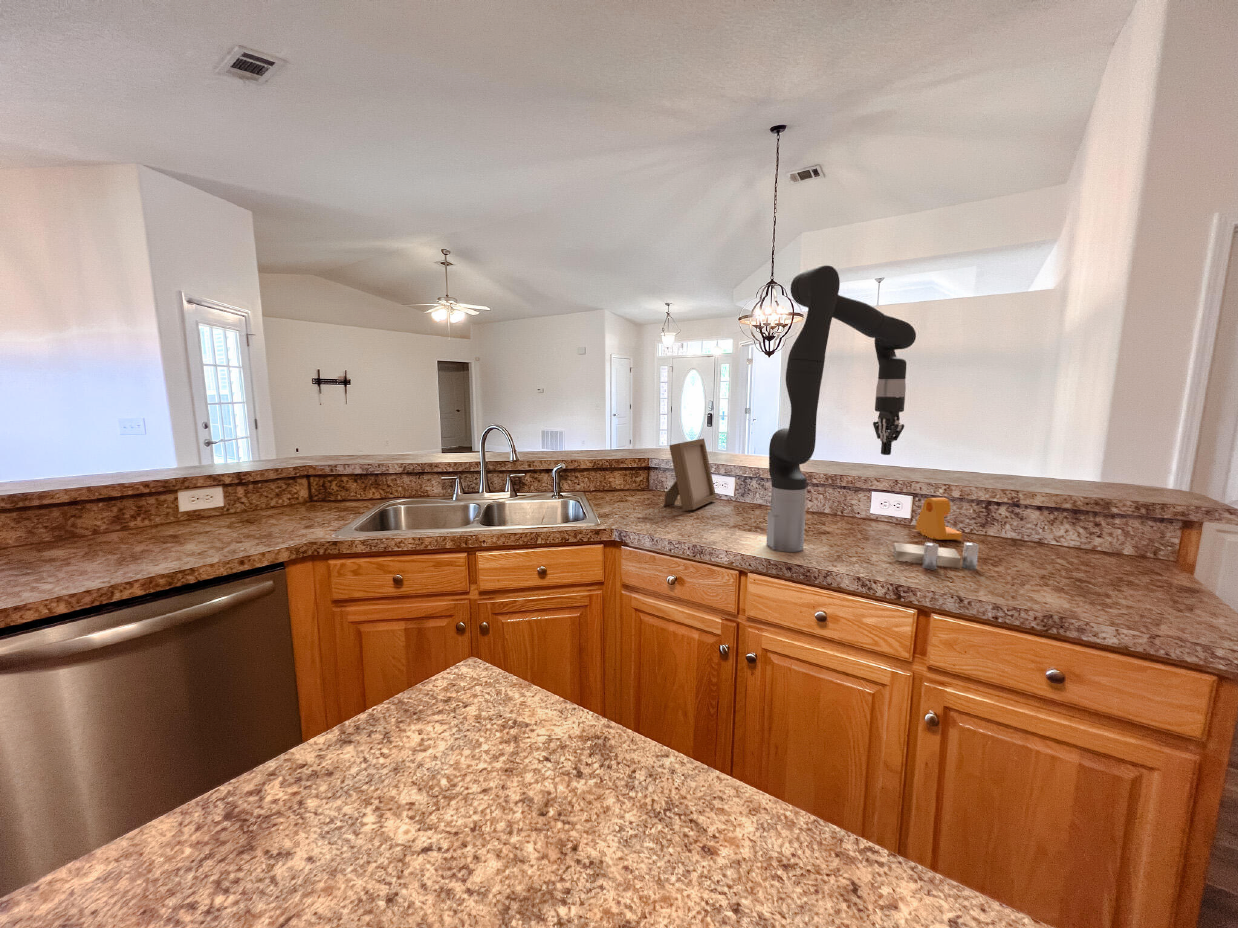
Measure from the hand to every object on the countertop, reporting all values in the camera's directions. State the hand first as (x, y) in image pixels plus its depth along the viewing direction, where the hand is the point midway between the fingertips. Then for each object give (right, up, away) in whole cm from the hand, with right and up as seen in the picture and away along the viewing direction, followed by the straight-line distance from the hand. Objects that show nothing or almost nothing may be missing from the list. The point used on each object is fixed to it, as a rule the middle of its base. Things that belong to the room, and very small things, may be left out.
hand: (885, 454), depth 149 cm
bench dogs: (+4, -29, -23) cm, 37 cm away
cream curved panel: (+1, -28, -17) cm, 33 cm away
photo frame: (-52, -19, +47) cm, 73 cm away
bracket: (+18, -25, +4) cm, 31 cm away
